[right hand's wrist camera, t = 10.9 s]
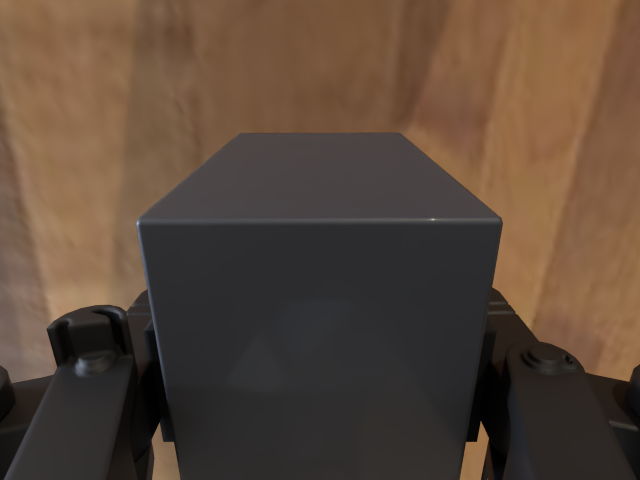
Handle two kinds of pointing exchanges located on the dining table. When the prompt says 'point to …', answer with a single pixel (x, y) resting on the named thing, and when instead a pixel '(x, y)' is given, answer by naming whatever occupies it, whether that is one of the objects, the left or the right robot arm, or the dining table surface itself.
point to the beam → (319, 309)
